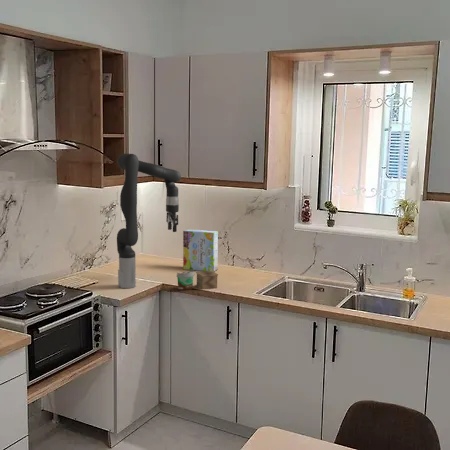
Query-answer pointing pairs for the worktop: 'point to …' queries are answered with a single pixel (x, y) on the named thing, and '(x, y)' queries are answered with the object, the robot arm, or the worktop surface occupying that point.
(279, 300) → the worktop surface
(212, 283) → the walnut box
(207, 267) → the snack box
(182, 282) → the food container
